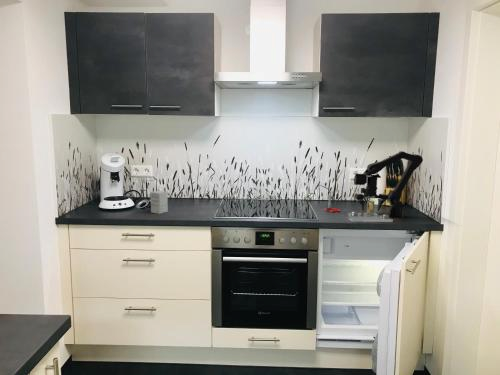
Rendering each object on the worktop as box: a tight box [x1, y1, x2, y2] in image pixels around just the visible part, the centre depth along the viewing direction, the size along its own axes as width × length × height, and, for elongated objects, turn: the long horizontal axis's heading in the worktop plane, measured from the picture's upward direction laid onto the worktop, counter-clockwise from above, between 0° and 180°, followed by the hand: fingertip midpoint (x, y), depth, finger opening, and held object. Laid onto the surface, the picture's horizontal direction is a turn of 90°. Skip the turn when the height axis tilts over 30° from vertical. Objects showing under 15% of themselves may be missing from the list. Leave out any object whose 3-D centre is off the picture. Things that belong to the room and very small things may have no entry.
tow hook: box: [324, 190, 341, 213], centre depth 255 cm, size 8×13×9 cm
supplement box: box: [150, 190, 169, 215], centre depth 246 cm, size 7×7×13 cm
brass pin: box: [366, 200, 375, 213], centre depth 241 cm, size 4×4×9 cm
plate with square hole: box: [347, 211, 394, 223], centre depth 232 cm, size 23×10×4 cm, turn 92°
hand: (370, 210), depth 241 cm, fingers open, 9 cm apart
